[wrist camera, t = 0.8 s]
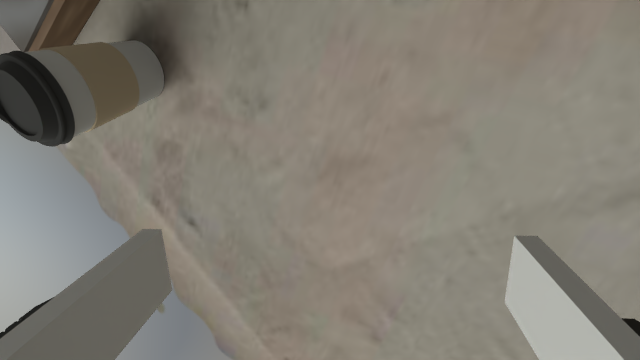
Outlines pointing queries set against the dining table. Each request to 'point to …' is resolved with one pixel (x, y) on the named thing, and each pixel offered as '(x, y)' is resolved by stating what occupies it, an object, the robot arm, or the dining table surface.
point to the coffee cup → (75, 87)
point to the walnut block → (44, 21)
